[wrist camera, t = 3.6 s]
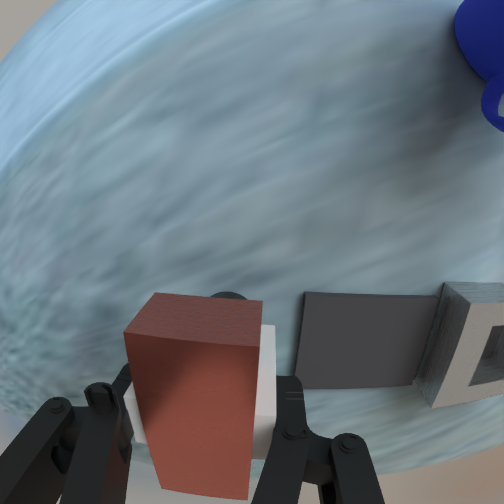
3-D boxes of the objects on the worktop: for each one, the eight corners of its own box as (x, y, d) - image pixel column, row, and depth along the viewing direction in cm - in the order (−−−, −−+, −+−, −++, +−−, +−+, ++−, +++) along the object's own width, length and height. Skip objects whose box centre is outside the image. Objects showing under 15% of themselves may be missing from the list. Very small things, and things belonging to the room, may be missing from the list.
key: (198, 370, 21) (161, 488, 11) (195, 244, 18) (123, 331, 9) (256, 375, 21) (247, 500, 11) (265, 248, 18) (260, 346, 8)
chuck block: (414, 379, 20) (430, 408, 17) (444, 281, 18) (471, 303, 15) (502, 366, 20) (521, 388, 16) (532, 283, 18) (557, 300, 14)
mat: (292, 383, 21) (292, 388, 20) (304, 291, 19) (305, 295, 18) (408, 379, 20) (411, 384, 20) (435, 295, 18) (439, 299, 18)
